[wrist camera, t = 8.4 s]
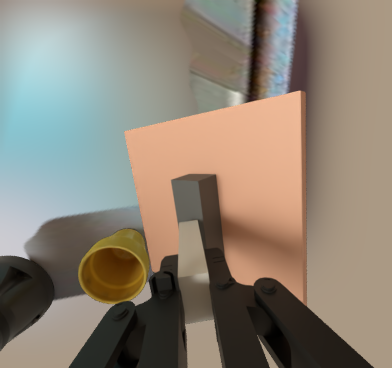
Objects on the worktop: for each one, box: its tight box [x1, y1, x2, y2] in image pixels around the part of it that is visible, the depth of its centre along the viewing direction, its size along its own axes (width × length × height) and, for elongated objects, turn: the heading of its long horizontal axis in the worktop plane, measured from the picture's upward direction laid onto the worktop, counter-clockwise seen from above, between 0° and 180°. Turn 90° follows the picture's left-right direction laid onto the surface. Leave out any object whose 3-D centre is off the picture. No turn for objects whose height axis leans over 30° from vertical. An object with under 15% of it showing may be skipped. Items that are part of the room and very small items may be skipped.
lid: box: [125, 91, 307, 306], centre depth 19 cm, size 19×19×4 cm
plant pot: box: [78, 229, 150, 304], centre depth 35 cm, size 10×10×10 cm
